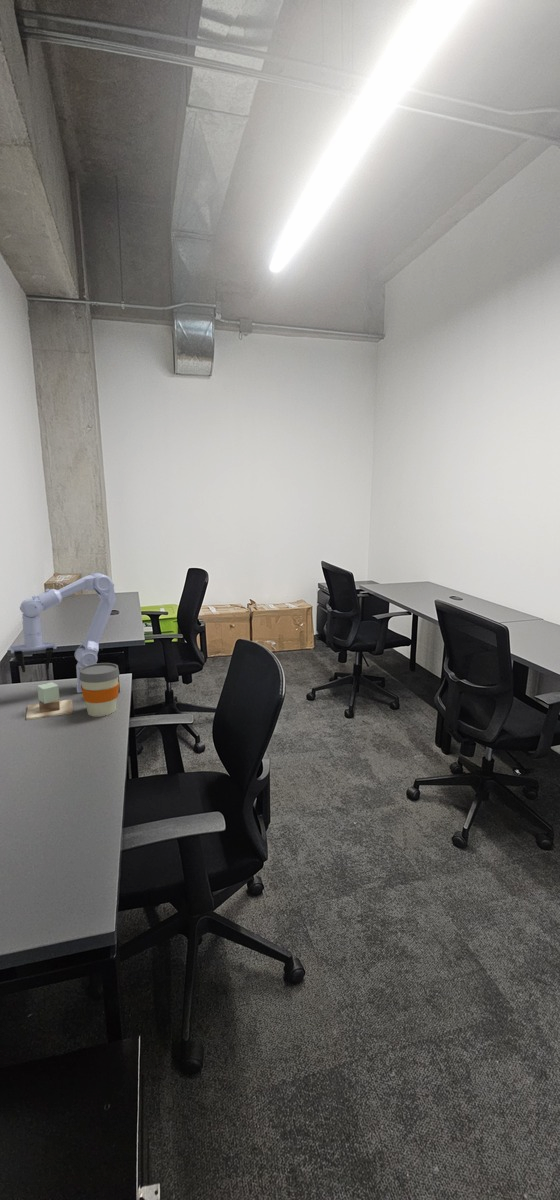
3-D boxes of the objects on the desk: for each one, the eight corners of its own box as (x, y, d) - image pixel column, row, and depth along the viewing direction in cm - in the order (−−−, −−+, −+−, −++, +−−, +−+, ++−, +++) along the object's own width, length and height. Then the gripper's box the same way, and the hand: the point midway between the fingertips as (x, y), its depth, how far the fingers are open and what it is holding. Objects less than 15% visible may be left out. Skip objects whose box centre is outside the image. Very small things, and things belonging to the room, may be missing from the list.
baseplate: (71, 700, 179) (71, 691, 178) (72, 713, 168) (72, 702, 167) (28, 706, 173) (27, 696, 172) (26, 720, 162) (25, 709, 162)
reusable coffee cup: (96, 722, 161) (93, 677, 158) (74, 712, 168) (71, 669, 166) (129, 709, 171) (126, 667, 168) (107, 701, 178) (104, 660, 176)
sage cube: (53, 695, 173) (52, 682, 173) (59, 699, 170) (58, 685, 169) (38, 699, 170) (37, 685, 169) (44, 703, 166) (43, 689, 166)
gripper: (55, 628, 184) (58, 664, 186) (10, 632, 178) (13, 669, 180) (55, 633, 177) (58, 669, 180) (8, 637, 172) (12, 675, 174)
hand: (35, 670), depth 180 cm, fingers open, 7 cm apart
